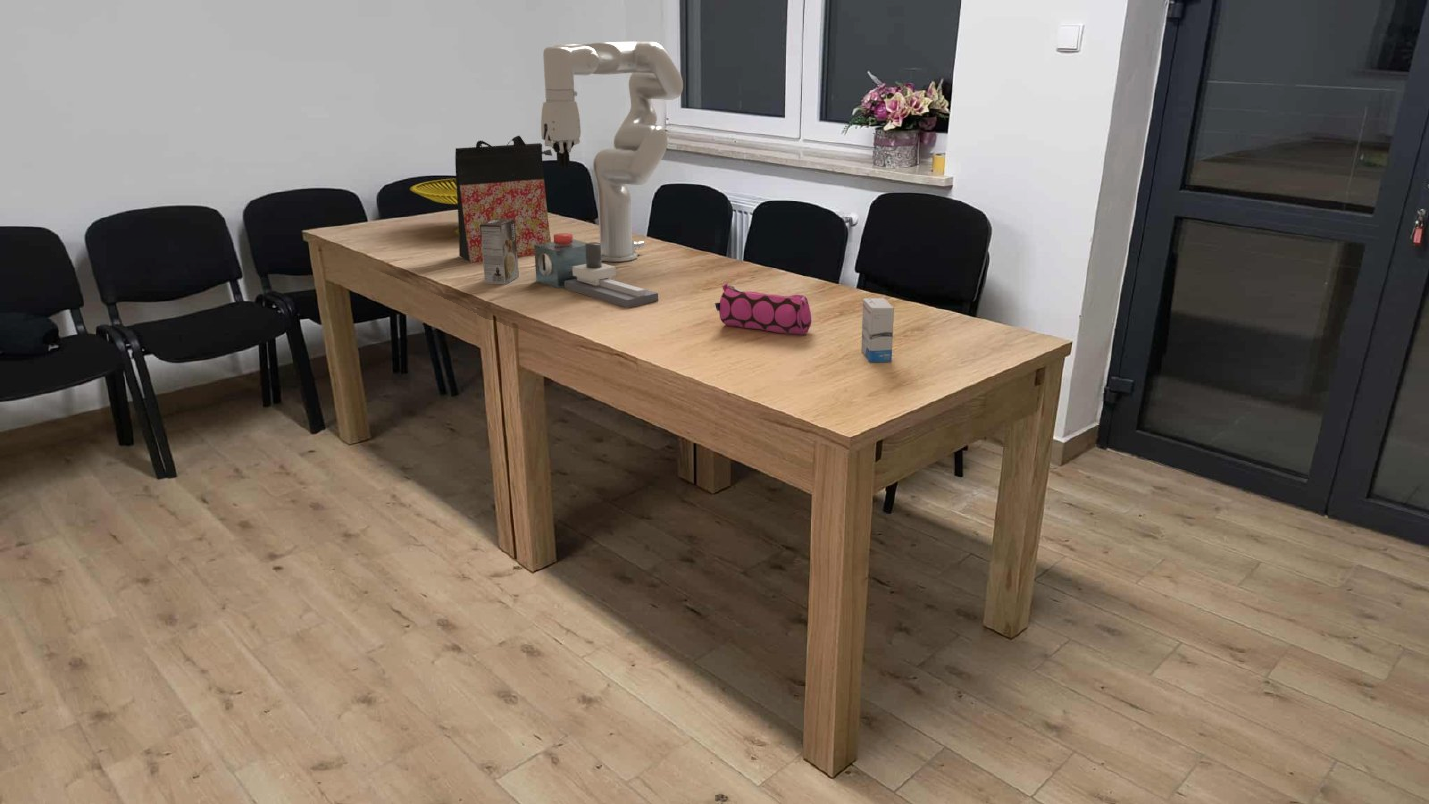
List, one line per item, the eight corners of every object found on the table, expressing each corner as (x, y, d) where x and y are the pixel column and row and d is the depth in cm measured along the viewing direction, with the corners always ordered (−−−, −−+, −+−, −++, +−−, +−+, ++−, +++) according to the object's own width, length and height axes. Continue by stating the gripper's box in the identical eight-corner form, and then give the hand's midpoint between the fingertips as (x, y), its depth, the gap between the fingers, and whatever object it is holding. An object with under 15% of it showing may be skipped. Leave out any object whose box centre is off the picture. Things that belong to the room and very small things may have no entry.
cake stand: (497, 215, 356) (494, 173, 350) (561, 232, 328) (558, 186, 323) (392, 229, 330) (387, 184, 325) (451, 249, 303) (447, 200, 297)
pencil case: (713, 330, 225) (713, 287, 222) (728, 319, 234) (729, 278, 230) (802, 341, 218) (804, 297, 214) (815, 329, 226) (816, 287, 223)
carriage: (597, 276, 262) (595, 239, 259) (616, 281, 257) (614, 244, 253) (573, 281, 257) (571, 243, 254) (591, 286, 252) (590, 248, 248)
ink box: (892, 362, 204) (896, 308, 200) (868, 363, 204) (871, 308, 199) (882, 349, 212) (885, 297, 208) (859, 350, 212) (862, 297, 207)
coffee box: (497, 275, 272) (493, 217, 266) (519, 276, 271) (515, 218, 265) (484, 283, 263) (479, 224, 258) (506, 284, 262) (502, 225, 256)
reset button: (565, 239, 266) (564, 232, 265) (576, 242, 263) (576, 235, 262) (550, 242, 263) (549, 235, 262) (561, 245, 259) (560, 237, 259)
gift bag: (473, 264, 284) (462, 140, 271) (457, 255, 295) (446, 135, 282) (567, 253, 298) (561, 134, 286) (548, 244, 310) (542, 130, 297)
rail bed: (594, 282, 266) (594, 269, 264) (658, 300, 248) (657, 287, 247) (564, 288, 259) (563, 275, 258) (627, 307, 242) (627, 294, 240)
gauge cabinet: (572, 274, 274) (570, 238, 270) (594, 280, 267) (592, 244, 264) (533, 281, 265) (531, 245, 262) (555, 288, 259) (553, 251, 255)
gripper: (574, 94, 265) (577, 163, 272) (528, 97, 255) (532, 168, 262) (591, 96, 260) (594, 166, 267) (544, 98, 250) (548, 171, 257)
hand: (563, 167), depth 264 cm, fingers closed
